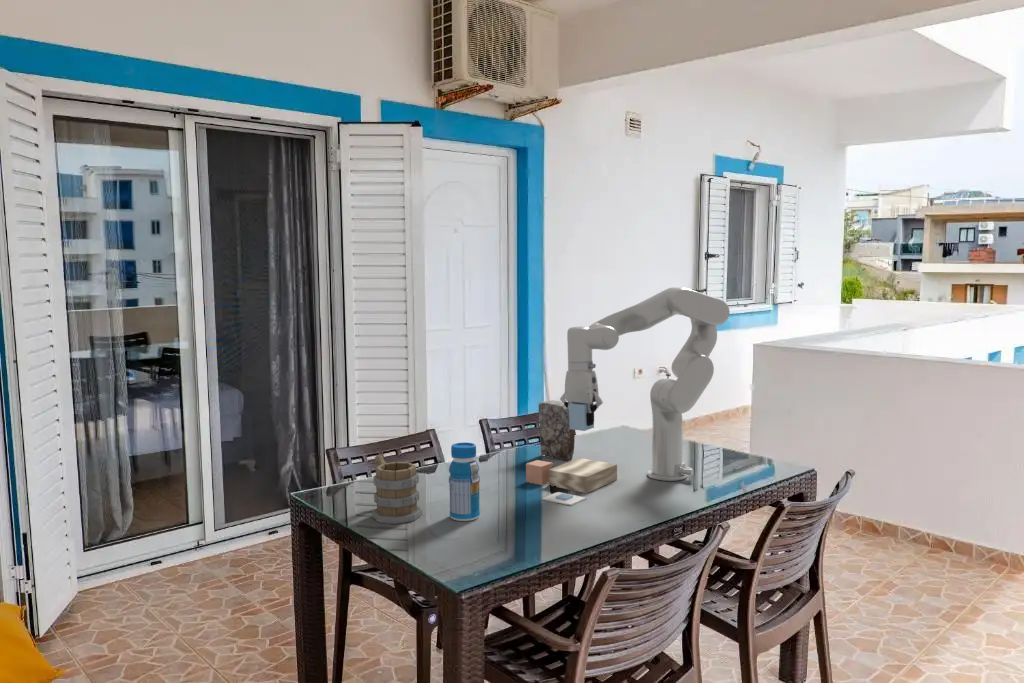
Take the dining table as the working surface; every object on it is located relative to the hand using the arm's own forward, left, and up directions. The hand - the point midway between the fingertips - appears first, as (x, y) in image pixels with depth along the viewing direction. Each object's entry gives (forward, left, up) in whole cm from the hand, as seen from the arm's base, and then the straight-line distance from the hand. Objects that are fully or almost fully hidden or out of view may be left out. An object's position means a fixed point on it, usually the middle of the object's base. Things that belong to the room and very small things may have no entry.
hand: (581, 423), depth 234 cm
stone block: (+25, -23, -19) cm, 39 cm away
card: (-5, +17, -19) cm, 26 cm away
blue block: (0, 0, -1) cm, 1 cm away
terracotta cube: (+12, +6, -19) cm, 23 cm away
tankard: (+27, +55, -19) cm, 65 cm away
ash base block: (0, -1, -19) cm, 19 cm away
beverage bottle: (+8, +46, -19) cm, 51 cm away
